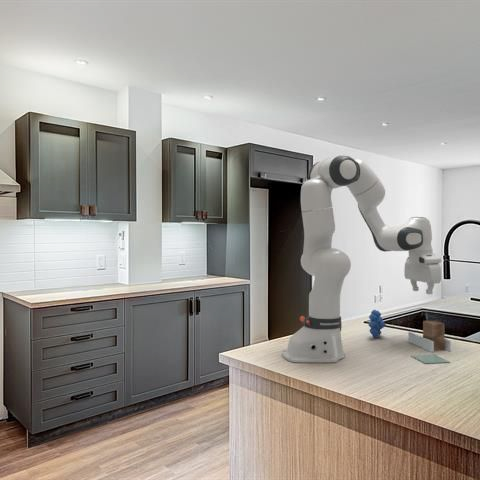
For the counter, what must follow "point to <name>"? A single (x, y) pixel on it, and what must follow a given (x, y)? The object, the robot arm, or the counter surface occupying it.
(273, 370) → the counter surface
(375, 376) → the counter surface
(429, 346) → the acrylic channel
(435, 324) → the walnut block
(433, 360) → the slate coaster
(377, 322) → the grapes
